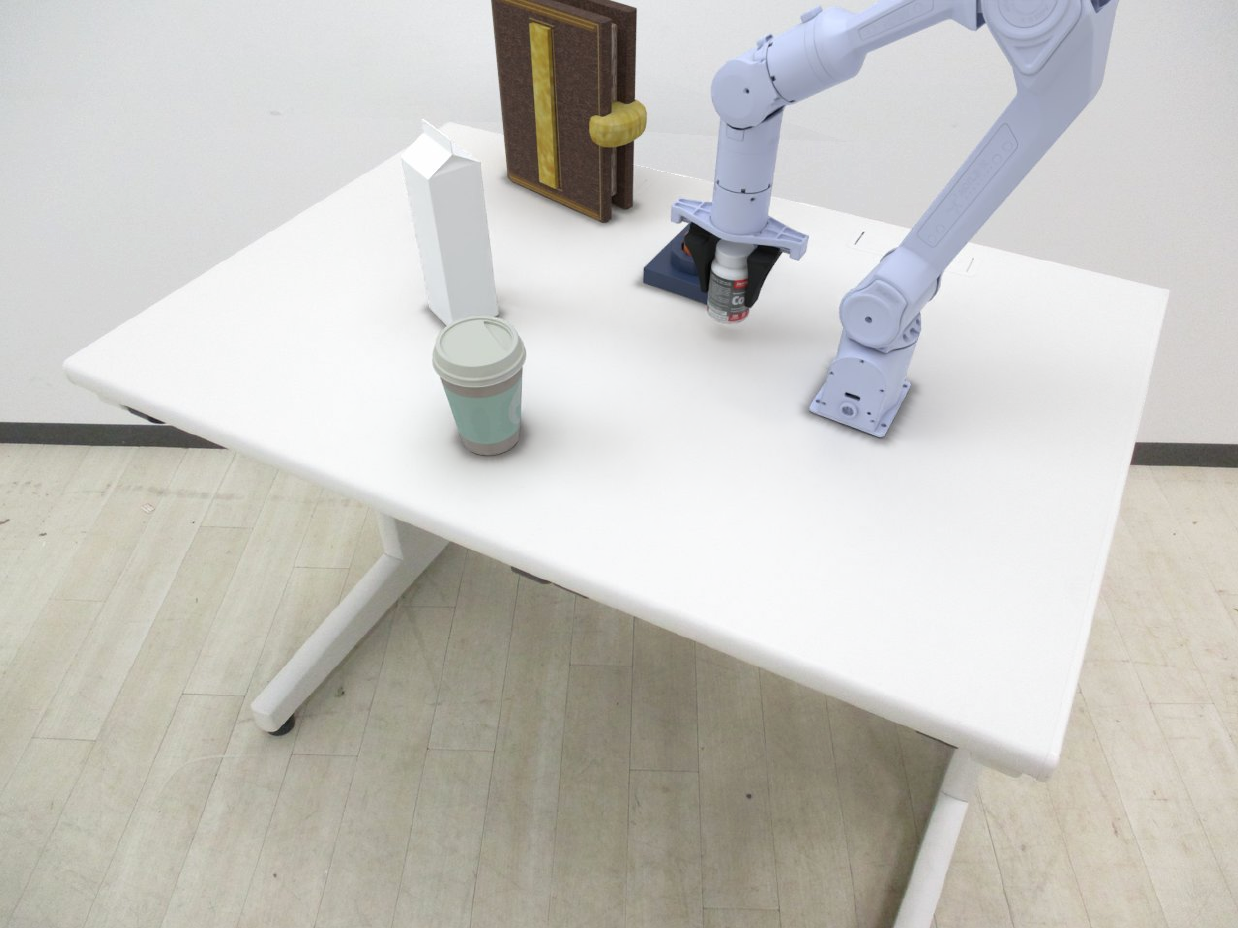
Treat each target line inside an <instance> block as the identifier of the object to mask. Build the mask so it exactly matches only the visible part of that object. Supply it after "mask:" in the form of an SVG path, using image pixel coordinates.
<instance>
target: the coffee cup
mask: <svg viewBox="0 0 1238 928" xmlns="http://www.w3.org/2000/svg"><path fill="white" fill-rule="evenodd" d="M431 355H432V359H431V364H432V368H433V370H434V371H435V373H436V374H437V375H438V376H439V378H440V381H441V385H442V387H443V390H444V393H445V397H446V399H447V402H448V404H449V407H450V411H451V413H452V415H453V419H454V422H455V425H456V427H457V430H458V433H459V436H460V438H461V442H462V444H463V445H464V447H465V448H466V450H468V451H470V452H471V453H474V454H476V455H478V456H479V455H480V456H497V455H500V454H503V453H505V452H508V451H510V450H511V449H512V448H513V447H514V446H516V444H517V443H518V442H519V439H520V436H521V422H522V421H521V419H522V418H521V417H522V396H523V371H524V364H525V362H526V360H527V349H526V346H525V343H524V340H523V339H522V337H521V336H520V335H519V333H518V331H517V329H516V328H515V326H514V325H512V324H511V323H510V322H508V321H506V320H505V319H502V318H500V317H498V316H495V317H492V316H470V317H465V318H462V319H459V320H456V321H454V322H452V323H450V324H449V325H447V326H446V325H445V327H443V328H442V329H441V330H440V331H439V333H438V334H437V336H436V338H435V344H434V347H433V349H432V354H431Z"/></svg>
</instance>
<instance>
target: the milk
mask: <svg viewBox="0 0 1238 928" xmlns="http://www.w3.org/2000/svg"><path fill="white" fill-rule="evenodd" d="M420 121H421V127H422V133H421V134H420V135H419V136H418V137H417V138H416V139H415V140H414V141H413V142H412V143H411V144H410V146H408V148H407V149H406V150H405V151H403V153H402V154H401V155H400V161H401V166H402V167H401V168H402V172H403V177H404V182H405V189H406V193H407V199H408V202H409V209H410V213H411V214H410V215H411V218H412V224H413V229H414V234H415V235H414V236H415V239H416V245H417V251H418V256H419V261H420V265H421V266H420V267H421V272H422V276H423V282H424V287H425V292H426V298H427V303H428V308H429V310H430V311H431V312H432V313H433V314H434V315H435V316H436V317H437V318H438V319H439V320H440V321H441V322H442V323H443V324H444V325H445V327H446V326H447V325H449V324H450V323H452V322H454V321H456V320H459V319H462V318H465V317H470V316H492V317H498V316H499V315H500V314H499V306H498V298H497V297H498V296H497V289H496V282H495V281H496V280H495V271H494V264H493V256H492V255H493V254H492V247H491V239H490V229H489V223H488V221H489V220H488V214H487V206H486V198H485V190H484V181H483V173H482V165H481V161H480V160H478V159H477V158H475V157H474V156H473V155H471V154H470V153H469V152H467V151H466V150H464V148H462V147H460V146H459V145H458V144H457V143H456V142H454V141H453V140H451V139H450V137H449V136H447V135H446V134H444V133H443V132H441V131H440V130H439V129H438V128H436V127H435V125H432V124H431V123H430V122H429V121H427V120H426V119H424V118H421V120H420Z"/></svg>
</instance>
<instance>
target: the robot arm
mask: <svg viewBox="0 0 1238 928" xmlns="http://www.w3.org/2000/svg"><path fill="white" fill-rule="evenodd" d="M1119 3H1120V0H878V1H877V2H875V3H872V4H870V5H869V6H868V7H867V6H866V8H864V9H862V10H860V11H859V12H853V11H850V10H849V9H847V8H844V7H841V6H837V5H835V6H829V7H828V8H826V9H824V10H823V7H822V5H821V4H818V5H816V6H814V7H812V8H810V9H808V10H806V11H805V12H803V13H801V14H800V20H801V22H799V23H798V24H796V25H794V26H792V27H790V28H788V29H786V30H785V31H783V32H781V33H778V34H777V35H775V36H774V34H772V32H769V33H767V34H765V35H763V36H762V37H760V38H758V39H757V40H756V45H755V46H753V47H752V48H750V49H748V50H746V51H745V52H742V53H741V54H740V55H738V56H736V57H733V58H730V59H728V60H727V61H726V63H724V64H723V65H722V66H721V67H720V68H718V70H717V71H716V72H715V74H714V76H713V78H712V81H711V83H710V98H711V103H712V106H713V108H714V111H715V112H716V114H717V115H718V116H719V125H718V135H717V146H716V158H715V168H714V178H713V189H712V199H711V200H712V201H704V200H694V199H690V198H689V199H688V198H685V197H678V199H677V200H675V201H674V203H672V204H671V206H670V207H671V208H670V222H671V223H674V224H678V225H679V224H681V223H682V222H683V223H686V224H690V229H689V232H688V233H687V234H686V235H685V236H684V244H685V246H686V247H687V249H688V250H689V252H690V254H691V256H692V258H693V261H694V263H695V266H696V269H697V273H698V277H699V282H700V288H701V292H704V293H707V292H708V291H709V281H710V271H711V263H712V261H713V259H714V258H715V252H716V245H717V243H718V241H720V240H721V239H723V240H726V241H731V242H738V243H748V244H757V248H756V249H754V250H753V252H752V253H751V254H750V255H749V256H748V257H747V267H748V284H747V290H746V296H745V307H748V308H750V309H752V307H754V305H755V304H756V303H757V301H758V300H759V297H760V294H761V291H762V290H763V289H762V288H763V286H764V284H765V282H766V280H767V278H768V276H769V274H770V272H771V271H772V269H773V268H774V266H775V265H776V263H777V261H778V260H779V258H780V257H781V256H782V254H783V253H784V254H787V255H789V259H790V260H793V261H796V262H797V261H798V262H799V261H800V260H801V259H802V258H803V257H804V255H805V254H806V252H807V249H808V243H809V237H810V235H809V234H807V233H804V232H800V231H798V230H796V229H794V228H792V227H790V226H788V225H786V224H784V223H783V222H781V221H779V220H778V219H776V218H774V217H772V216H771V215H769V212H770V204H771V199H772V198H771V197H772V192H773V191H772V190H773V184H774V177H775V170H776V163H777V157H778V150H779V143H780V136H781V129H782V122H783V116H784V111H785V109H786V107H787V106H791V105H795V104H797V103H799V102H802V101H804V100H806V99H808V98H810V97H812V96H815V95H817V94H820V93H822V92H824V91H826V90H829V89H830V88H833V87H835V86H838V85H841V84H842V83H844V82H847V81H849V80H851V79H854V78H855V77H856V76H857V75H858V74H859V73H860V71H861V69H862V67H863V65H864V61H865V59H866V58H867V54H869V53H871V52H873V51H877V50H879V49H880V48H883V47H885V46H889V45H890V44H893V43H895V42H897V41H900V40H902V39H904V38H907V37H909V36H912V35H915V34H916V33H919V32H921V31H924V30H926V29H928V28H930V27H933V26H935V25H939V24H940V23H943V22H945V21H949V20H953V21H954V22H956V23H957V24H959V25H961V26H962V27H964V28H965V29H968V30H969V31H974V32H976V31H978V30H979V29H981V28H982V27H983V26H985V24H986V26H987V28H988V30H989V32H990V34H991V35H992V37H993V39H994V41H995V42H996V43H997V45H998V47H999V49H1000V50H1001V52H1002V53H1003V55H1004V56H1005V58H1006V60H1007V61H1008V63H1009V65H1010V66H1011V68H1012V73H1013V78H1014V83H1015V86H1016V95H1015V96H1014V97H1013V99H1012V100H1011V101H1010V103H1009V104H1008V105H1007V106H1006V107H1005V109H1004V110H1003V111H1002V113H1001V114H1000V116H999V117H998V118H997V120H995V122H994V123H993V125H992V126H991V127H990V128H989V129H988V131H987V132H986V133H985V135H984V136H983V137H982V138H981V140H980V141H979V142H978V144H977V145H976V146H975V148H973V150H972V151H971V152H970V154H969V155H968V157H967V158H965V161H964V162H963V163H962V164H961V165H960V167H959V168H958V169H957V171H956V172H955V173H954V174H953V176H952V177H951V178H950V179H949V181H948V183H946V185H945V186H944V187H943V189H941V191H940V192H939V193H938V195H937V196H936V197H935V198H934V200H933V201H932V203H931V204H930V205H929V207H928V208H927V209H926V210H925V212H924V213H923V214H922V215H921V217H919V219H918V221H916V223H915V225H914V226H913V227H912V228H911V230H909V232H908V234H906V236H905V237H904V238H903V240H902V241H901V243H900V244H899V245H898V246H896V247H894V248H892V249H890V250H888V251H887V252H886V253H885V254H884V255H883V257H882V258H880V260H879V262H878V264H876V265H875V266H874V268H873V269H871V270H870V272H869V273H867V275H866V276H865V277H863V278H862V279H861V281H860V282H859V283H858V284H857V285H856V286H855V287H854V288H851V289H849V290H848V292H846V294H844V296H843V297H842V299H841V301H840V303H839V307H838V317H839V321H840V324H841V326H842V330H841V334H840V338H839V343H838V347H837V351H836V354H835V357H834V358H833V360H832V361H831V363H830V365H829V367H828V370H827V372H826V373H827V374H826V378H825V382H824V383H823V385H822V386H821V387H820V389H819V391H818V392H817V394H816V395H815V397H814V398H813V400H812V402H811V404H810V405H809V409H808V410H809V411H810V412H811V413H813V414H815V415H818V416H821V417H824V418H826V419H830V420H832V421H835V422H837V423H840V424H842V425H845V426H847V427H851V428H853V429H856V430H859V431H862V432H864V433H867V434H870V435H873V436H875V437H878V438H884V437H885V435H886V433H887V432H888V430H889V428H890V426H891V425H892V423H893V420H894V419H895V417H896V415H897V413H898V412H899V410H900V407H901V406H902V404H903V402H904V400H905V398H906V396H907V394H908V392H909V391H910V389H911V386H912V383H911V382H910V381H909V380H906V377H907V373H908V371H909V368H910V364H911V362H912V360H913V356H914V353H915V350H916V347H917V344H918V341H919V337H920V335H921V332H922V315H921V311H922V310H923V309H924V307H925V306H926V305H927V304H928V303H929V302H931V301H932V300H933V299H934V298H935V296H937V294H938V292H939V291H940V288H941V284H942V278H943V274H944V272H945V270H946V269H947V268H948V266H949V265H950V264H951V263H952V262H953V261H954V259H955V258H956V257H957V256H958V255H959V254H960V253H961V251H962V250H963V249H965V247H966V246H967V245H968V243H969V242H970V241H971V240H972V239H973V238H974V236H975V235H976V234H977V233H978V232H979V230H981V229H982V227H984V225H985V224H986V223H987V222H988V221H989V219H990V218H991V217H992V216H993V215H994V214H995V212H996V211H997V210H998V209H999V208H1000V207H1001V205H1002V204H1003V203H1004V202H1005V201H1006V200H1007V199H1008V197H1009V196H1011V194H1012V192H1014V191H1015V189H1016V188H1018V186H1019V185H1020V184H1021V183H1022V181H1023V180H1024V179H1025V178H1026V177H1027V176H1028V175H1029V173H1030V172H1031V171H1032V170H1033V169H1034V167H1035V166H1037V164H1038V163H1039V162H1040V161H1041V160H1042V158H1043V157H1044V156H1045V155H1046V154H1047V153H1048V151H1049V150H1050V149H1051V148H1052V147H1053V146H1054V145H1055V144H1056V142H1057V141H1058V140H1059V139H1060V138H1061V137H1062V135H1063V134H1064V133H1065V132H1066V131H1067V129H1068V128H1070V126H1071V125H1072V124H1073V122H1075V120H1076V119H1077V118H1078V117H1079V116H1080V115H1081V114H1082V112H1083V111H1084V110H1085V109H1086V108H1087V107H1088V105H1090V103H1091V102H1092V101H1093V100H1094V99H1095V97H1096V96H1097V95H1098V92H1099V91H1100V90H1101V87H1102V85H1103V81H1104V77H1105V73H1106V66H1107V62H1108V56H1109V51H1110V47H1111V39H1112V35H1113V31H1114V30H1113V29H1114V24H1115V20H1116V14H1117V9H1118V6H1119Z"/></svg>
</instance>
